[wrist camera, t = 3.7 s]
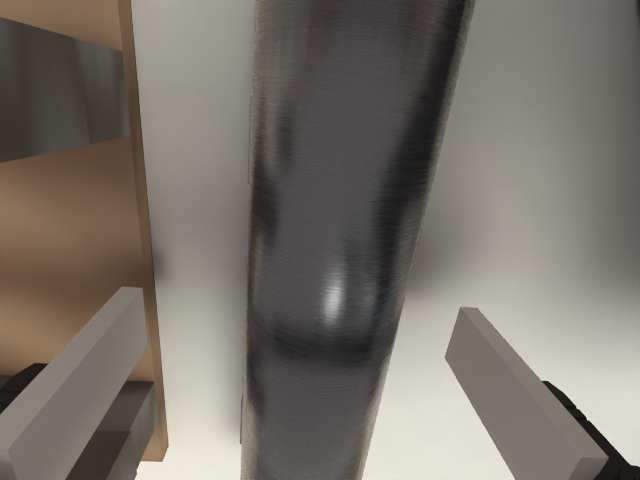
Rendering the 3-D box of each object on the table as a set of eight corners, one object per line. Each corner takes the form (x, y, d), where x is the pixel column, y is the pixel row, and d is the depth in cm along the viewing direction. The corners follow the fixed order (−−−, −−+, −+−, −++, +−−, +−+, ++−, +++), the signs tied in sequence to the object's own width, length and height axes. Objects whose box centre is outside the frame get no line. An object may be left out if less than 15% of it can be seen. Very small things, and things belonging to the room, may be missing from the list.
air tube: (263, -32, 10) (224, -171, 5) (440, -5, 10) (571, -105, 5) (243, 492, 19) (222, 633, 14) (338, 493, 19) (351, 630, 14)
